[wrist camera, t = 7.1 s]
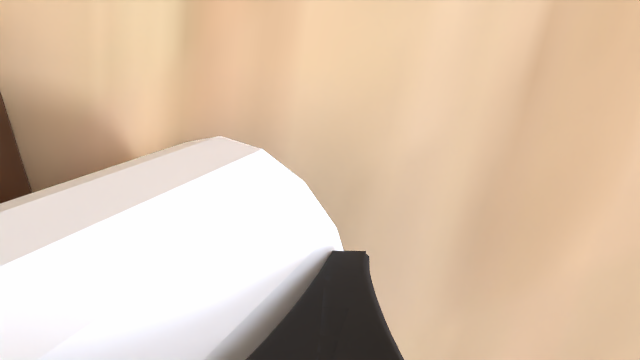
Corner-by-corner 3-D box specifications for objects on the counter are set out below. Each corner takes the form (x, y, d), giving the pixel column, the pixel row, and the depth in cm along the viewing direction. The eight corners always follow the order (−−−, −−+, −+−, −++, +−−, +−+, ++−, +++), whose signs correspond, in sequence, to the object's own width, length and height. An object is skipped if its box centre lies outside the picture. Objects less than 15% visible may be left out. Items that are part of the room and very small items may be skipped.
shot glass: (220, 382, 15) (-37, 639, 10) (97, 160, 14) (-262, 314, 9) (435, 373, 11) (185, 819, 6) (279, 54, 10) (-204, 227, 5)
